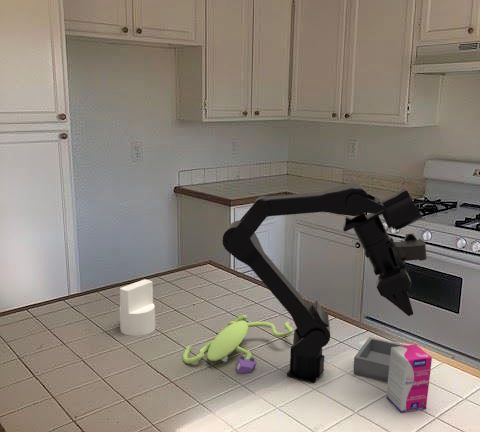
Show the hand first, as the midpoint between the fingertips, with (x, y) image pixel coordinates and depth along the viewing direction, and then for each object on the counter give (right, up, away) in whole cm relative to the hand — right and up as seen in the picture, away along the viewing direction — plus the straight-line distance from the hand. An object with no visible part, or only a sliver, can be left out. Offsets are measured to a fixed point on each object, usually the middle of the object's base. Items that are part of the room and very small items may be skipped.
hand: (408, 306), depth 112 cm
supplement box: (-2, -19, -4) cm, 19 cm away
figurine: (-35, -14, +19) cm, 42 cm away
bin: (-2, -16, +10) cm, 19 cm away
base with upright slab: (-62, -11, +30) cm, 69 cm away
